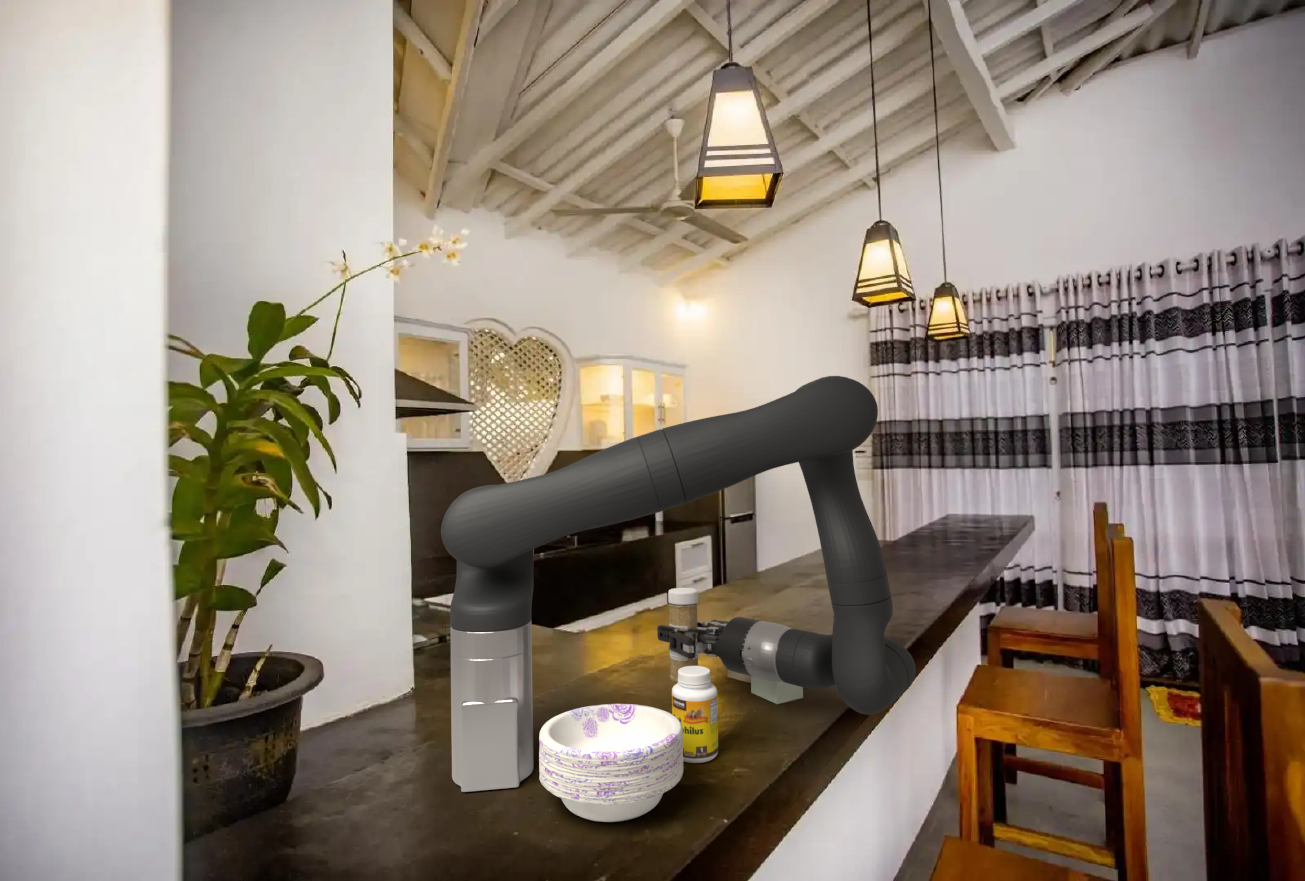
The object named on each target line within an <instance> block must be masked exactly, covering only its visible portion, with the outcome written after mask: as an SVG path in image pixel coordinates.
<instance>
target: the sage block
mask: <svg viewBox="0 0 1305 881" xmlns="http://www.w3.org/2000/svg"><path fill="white" fill-rule="evenodd" d="M750 688H751V690H750V692H751V694H754V695H756V696H758V697H760V698H763V699H765V700H766V701H769V702H771V703H774V704H775V705H779V704H784V703H788V702H793V701H796V700H800V699H803V698H804V687H800V686H796V685H792V684H788V683H784V682H774V681H768V680H765V679H761V678H757V677H753V676H751V683H750Z"/></svg>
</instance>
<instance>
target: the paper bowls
mask: <svg viewBox="0 0 1305 881" xmlns="http://www.w3.org/2000/svg"><path fill="white" fill-rule="evenodd" d="M538 734H539V737H538V739H539V740H538V741H539V742H538V743H539V749H538V751H539V752H538V754H539V755H538V758H539V759H538V762H539V763H538V764H539V765H538V767H539V768H538V769H539V770H538V772H539V778H538V779H539V781H540V784H541V785H542V786H543V787H544V788H545V789H546V790H547V791H548V792H549V793H551V794H552V795H554V796H555V797H558V798H560V799H561V801H562V803H563V804H564V806H565V808H567V809H568V810H569V811H570V812H571V813H573V814H574V815H575V816H579V817H580V818H582V819H586V820H589V821H593V822H603V823H615V822H624V821H629V820H632V819H635V818H639V817H641V816H644V815H646V814H647V813H648V812H650V811H651V810H653V809H654V808H655V807H656V806H657V805H658V804H659V802H660V801H661V799H662V797H663V794H664V793H666V792H668V791H670V790H671V789H673V788H674V787H675V786H676V785H677V784H678V783H679V782H680V781H681V779H682V777H683V775H684V761H683V728H682V725H681V723H680V722H679V720H678V719H677V718H676V717H675V716H673V715H672V713H671V712H668V711H666V710H663V709H660V708H657V707H653V706H648V705H643V704H642V705H641V704H633V703H632V704H631V703H608V704H607V703H606V704H596V705H588V706H584V707H583V706H582V707H579V708H578V707H577V708H573V709H571V710H567V711H565V712H562V713H560V714H558V715H555V716H553V717H551V718H550V719H549V720H547V721H546V722H545V723H544V724H543V725H542V726H541V729H540V731H539V733H538Z"/></svg>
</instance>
